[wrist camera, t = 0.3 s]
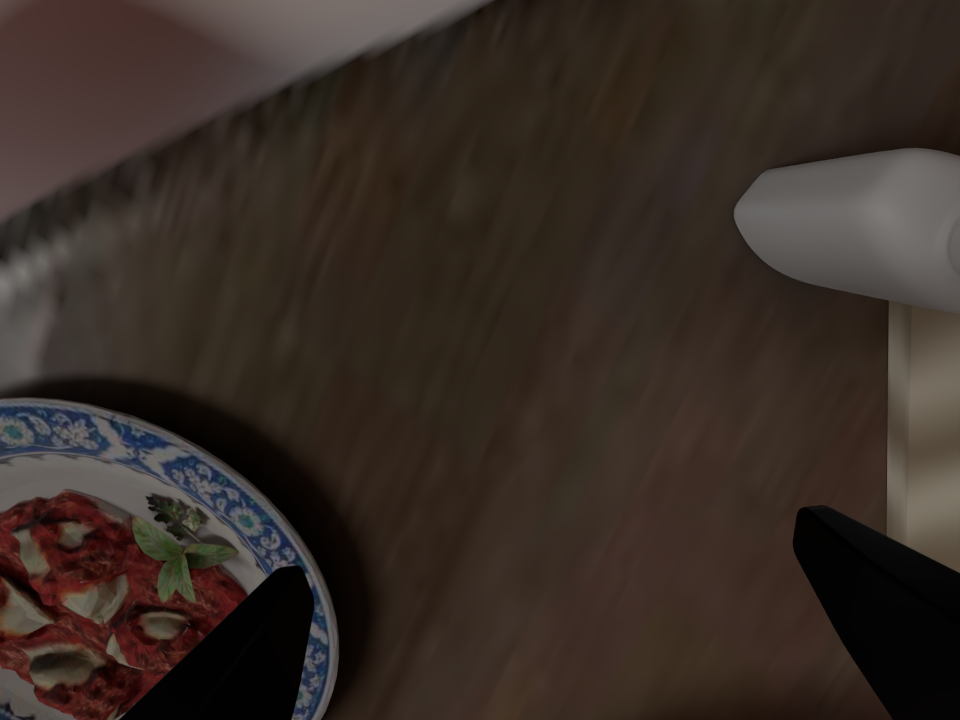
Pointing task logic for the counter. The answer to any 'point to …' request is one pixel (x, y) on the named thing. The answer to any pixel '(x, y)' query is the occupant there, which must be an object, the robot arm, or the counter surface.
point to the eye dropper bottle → (863, 225)
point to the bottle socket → (924, 431)
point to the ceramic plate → (128, 561)
